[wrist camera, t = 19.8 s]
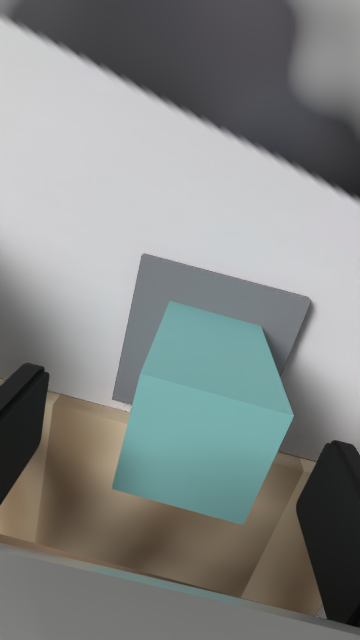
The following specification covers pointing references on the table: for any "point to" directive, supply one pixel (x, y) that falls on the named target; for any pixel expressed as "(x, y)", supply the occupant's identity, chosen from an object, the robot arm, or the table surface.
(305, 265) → the table surface
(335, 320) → the table surface
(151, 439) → the teal block
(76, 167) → the table surface
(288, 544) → the light wood slatted frame
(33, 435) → the robot arm
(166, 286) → the felt mat
